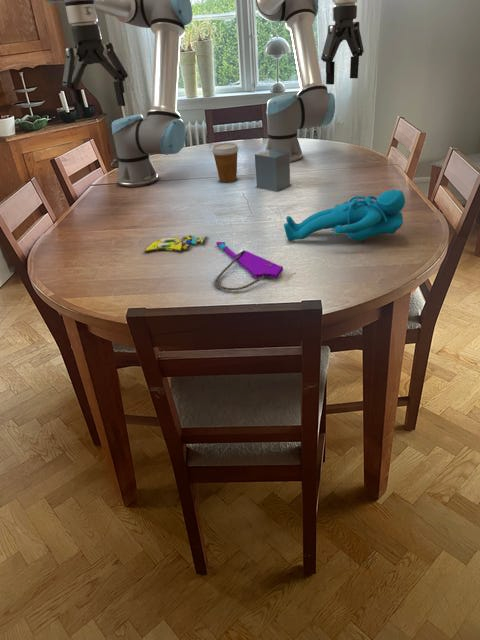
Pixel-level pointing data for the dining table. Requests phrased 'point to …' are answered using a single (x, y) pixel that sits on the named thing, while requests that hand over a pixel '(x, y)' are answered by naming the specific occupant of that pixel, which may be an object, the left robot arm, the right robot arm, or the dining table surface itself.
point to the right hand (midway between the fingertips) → (342, 81)
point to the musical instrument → (250, 266)
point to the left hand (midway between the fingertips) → (102, 110)
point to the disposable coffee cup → (226, 161)
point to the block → (272, 169)
